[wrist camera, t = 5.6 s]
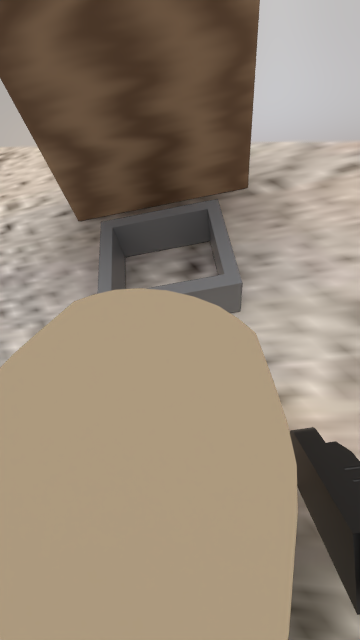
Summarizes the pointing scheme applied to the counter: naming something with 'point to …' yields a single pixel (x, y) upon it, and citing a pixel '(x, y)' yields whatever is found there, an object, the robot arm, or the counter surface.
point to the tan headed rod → (144, 477)
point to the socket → (169, 233)
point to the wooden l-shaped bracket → (134, 96)
